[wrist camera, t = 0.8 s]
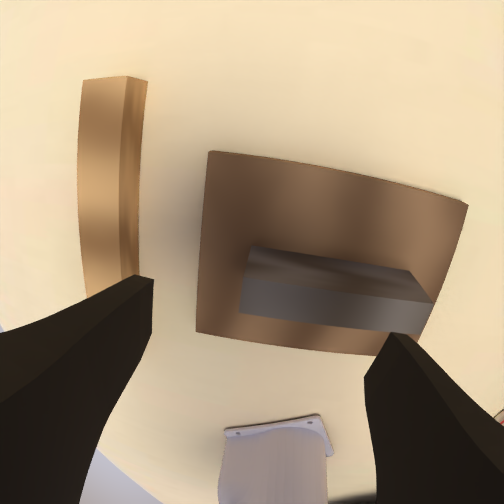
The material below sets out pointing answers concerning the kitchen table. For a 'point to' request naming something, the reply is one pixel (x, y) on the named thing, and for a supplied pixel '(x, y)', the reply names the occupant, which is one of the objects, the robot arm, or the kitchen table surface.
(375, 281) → the ridge stand
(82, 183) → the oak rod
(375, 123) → the kitchen table surface
